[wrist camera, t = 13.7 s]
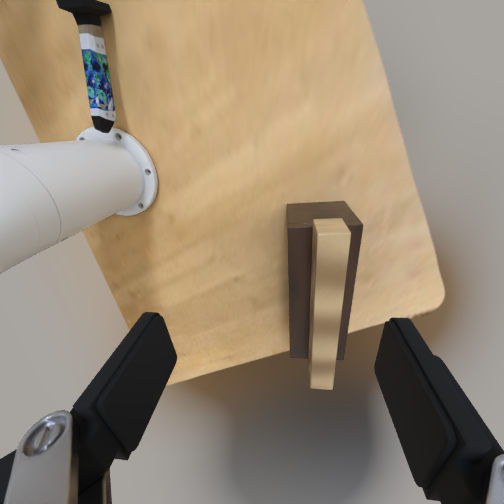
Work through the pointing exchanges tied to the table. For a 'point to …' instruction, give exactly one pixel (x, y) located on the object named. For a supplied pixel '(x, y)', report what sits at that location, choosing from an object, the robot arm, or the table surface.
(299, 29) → the table surface
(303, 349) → the dark brown channel bracket
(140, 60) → the table surface
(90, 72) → the multicoloured piece
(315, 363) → the stick
